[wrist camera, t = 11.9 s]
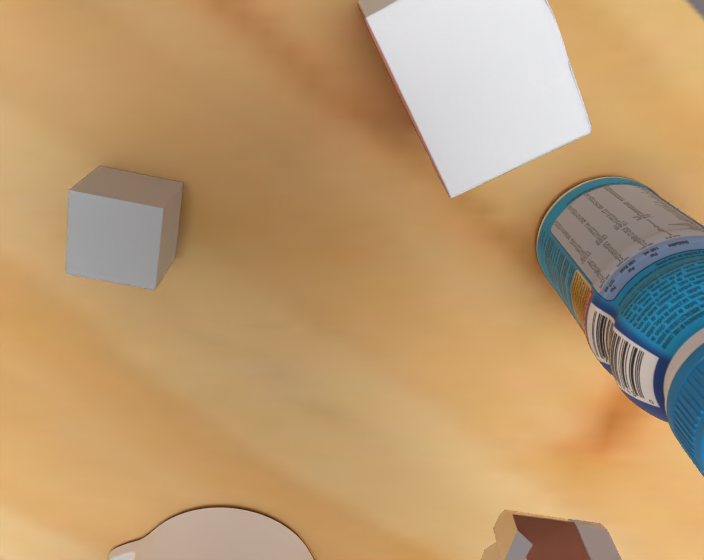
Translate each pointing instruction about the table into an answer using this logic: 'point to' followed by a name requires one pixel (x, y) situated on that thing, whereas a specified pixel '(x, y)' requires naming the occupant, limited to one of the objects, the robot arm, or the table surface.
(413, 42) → the small box
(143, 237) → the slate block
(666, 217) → the beverage bottle
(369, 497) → the table surface
